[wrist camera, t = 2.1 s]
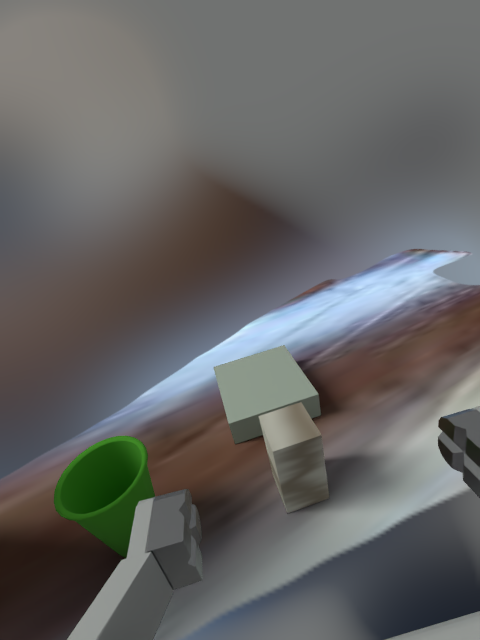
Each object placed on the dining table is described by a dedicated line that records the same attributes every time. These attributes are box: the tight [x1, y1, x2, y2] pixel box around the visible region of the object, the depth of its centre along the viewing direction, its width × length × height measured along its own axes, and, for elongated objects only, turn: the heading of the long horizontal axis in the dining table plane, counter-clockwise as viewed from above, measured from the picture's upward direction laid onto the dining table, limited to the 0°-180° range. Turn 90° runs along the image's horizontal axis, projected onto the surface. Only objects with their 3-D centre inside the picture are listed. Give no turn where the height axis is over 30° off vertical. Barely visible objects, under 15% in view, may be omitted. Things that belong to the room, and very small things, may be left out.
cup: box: [54, 436, 155, 558], centre depth 34 cm, size 9×9×11 cm
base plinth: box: [214, 345, 321, 444], centre depth 51 cm, size 13×14×4 cm
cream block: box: [259, 402, 329, 514], centre depth 35 cm, size 5×5×10 cm
